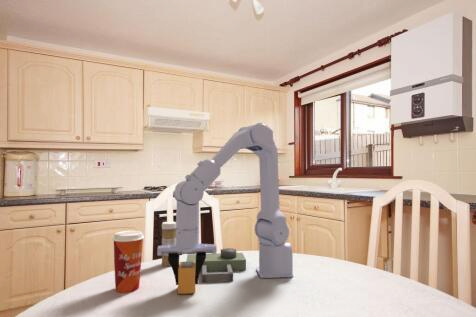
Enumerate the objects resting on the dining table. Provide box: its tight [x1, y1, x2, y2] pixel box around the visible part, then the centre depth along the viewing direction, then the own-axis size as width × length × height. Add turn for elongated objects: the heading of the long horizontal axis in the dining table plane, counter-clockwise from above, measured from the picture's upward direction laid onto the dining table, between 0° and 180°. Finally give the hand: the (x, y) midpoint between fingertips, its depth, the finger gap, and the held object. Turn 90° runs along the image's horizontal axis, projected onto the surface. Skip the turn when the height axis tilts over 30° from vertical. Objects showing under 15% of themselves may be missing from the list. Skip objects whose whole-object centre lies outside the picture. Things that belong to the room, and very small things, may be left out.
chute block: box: [177, 261, 196, 295], centre depth 73 cm, size 4×5×6 cm
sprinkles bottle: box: [161, 221, 176, 267], centre depth 94 cm, size 5×5×13 cm
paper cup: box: [112, 230, 145, 294], centre depth 75 cm, size 8×8×14 cm
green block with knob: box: [185, 247, 247, 283], centre depth 88 cm, size 18×17×5 cm
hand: (187, 283), depth 73 cm, fingers closed on chute block, 4 cm apart
